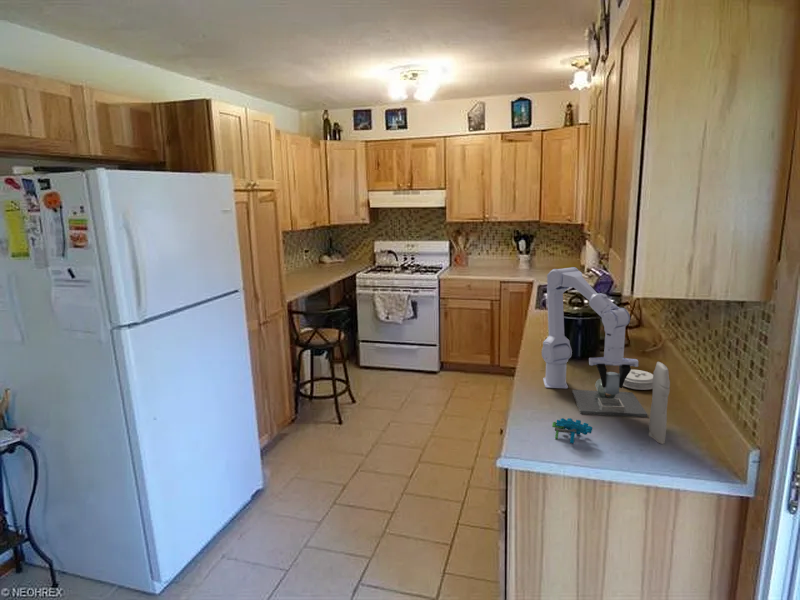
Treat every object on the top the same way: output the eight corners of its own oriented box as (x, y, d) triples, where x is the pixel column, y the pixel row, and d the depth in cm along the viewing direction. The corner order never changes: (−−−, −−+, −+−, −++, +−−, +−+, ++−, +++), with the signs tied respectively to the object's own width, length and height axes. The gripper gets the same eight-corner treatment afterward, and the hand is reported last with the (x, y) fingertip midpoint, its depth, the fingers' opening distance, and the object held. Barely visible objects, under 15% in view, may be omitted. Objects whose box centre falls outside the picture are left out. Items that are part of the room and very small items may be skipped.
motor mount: (572, 392, 178) (572, 376, 177) (632, 395, 174) (633, 378, 173) (580, 413, 161) (581, 396, 159) (647, 417, 157) (648, 399, 156)
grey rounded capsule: (602, 389, 164) (603, 371, 163) (616, 389, 164) (617, 372, 163) (606, 394, 160) (607, 376, 159) (620, 394, 159) (622, 376, 158)
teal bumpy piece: (596, 431, 145) (587, 417, 138) (594, 451, 142) (585, 438, 135) (558, 427, 151) (548, 414, 145) (555, 446, 148) (545, 433, 142)
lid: (621, 377, 192) (622, 365, 191) (658, 383, 185) (659, 370, 184) (614, 388, 182) (615, 374, 181) (652, 394, 175) (654, 381, 174)
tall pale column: (670, 445, 139) (677, 370, 135) (655, 444, 140) (661, 370, 135) (658, 428, 149) (664, 358, 145) (643, 427, 150) (648, 357, 146)
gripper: (592, 349, 156) (590, 390, 159) (642, 350, 154) (639, 392, 156) (588, 342, 163) (586, 382, 166) (636, 344, 160) (633, 384, 163)
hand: (611, 386), depth 161 cm, fingers closed on grey rounded capsule, 4 cm apart
